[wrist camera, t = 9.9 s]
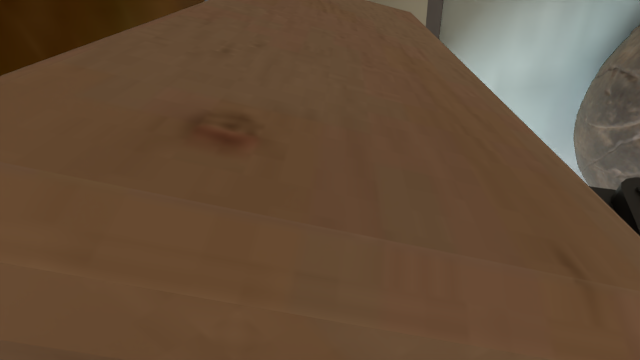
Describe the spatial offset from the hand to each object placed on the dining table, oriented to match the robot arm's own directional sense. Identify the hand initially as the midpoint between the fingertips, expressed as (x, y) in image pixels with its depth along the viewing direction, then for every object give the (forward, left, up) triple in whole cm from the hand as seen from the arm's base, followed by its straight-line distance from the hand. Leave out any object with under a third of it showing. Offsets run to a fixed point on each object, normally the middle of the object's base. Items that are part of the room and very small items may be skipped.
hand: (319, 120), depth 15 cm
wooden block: (0, 0, -7) cm, 7 cm away
